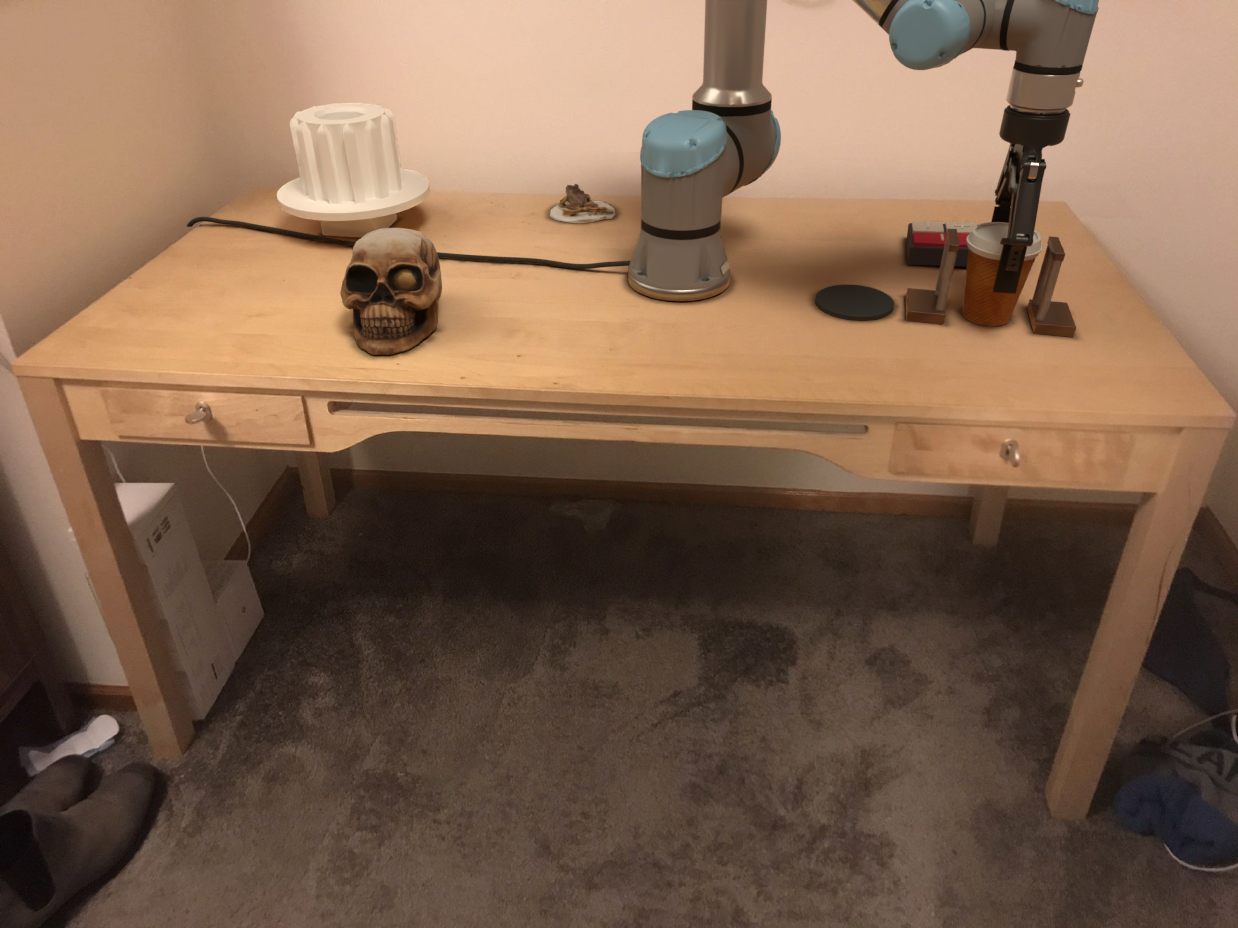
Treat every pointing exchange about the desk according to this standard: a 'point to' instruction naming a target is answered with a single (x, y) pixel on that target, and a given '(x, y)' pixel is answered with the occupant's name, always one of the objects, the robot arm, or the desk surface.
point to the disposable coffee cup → (992, 275)
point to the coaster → (854, 302)
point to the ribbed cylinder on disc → (349, 170)
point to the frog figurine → (581, 208)
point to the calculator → (935, 242)
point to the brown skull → (392, 290)
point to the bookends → (1040, 309)
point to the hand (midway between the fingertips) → (999, 272)
